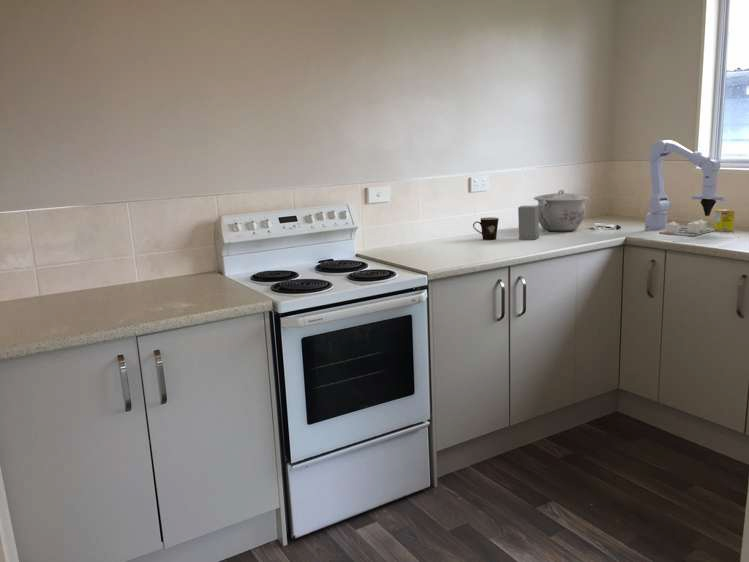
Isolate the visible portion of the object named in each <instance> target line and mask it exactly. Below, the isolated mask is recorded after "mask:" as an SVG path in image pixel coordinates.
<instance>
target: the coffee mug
mask: <svg viewBox="0 0 749 562" xmlns="http://www.w3.org/2000/svg"><path fill="white" fill-rule="evenodd" d="M499 219H500V218H499V217H493V216H491V217H489V216H488V217H487V216H486V217H481V218H480V221H474V222H473V223H472V224H473V225H472V227H473V229H474V230H475V231H476V232H478V233H480V234H481V236H482V240H483V241H495V240H497V234H498V226H499ZM477 223H478V224H479V225H480V228H481V231H480V230H478V229H477V228H476V226H475V225H476V224H477Z"/></svg>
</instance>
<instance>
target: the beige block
mask: <svg viewBox="0 0 749 562" xmlns="http://www.w3.org/2000/svg"><path fill="white" fill-rule="evenodd" d="M697 221H698V220H697ZM697 221H696V220H694V221H691V222H688V223H687V229H686V230H687V232H695V233H700V223H696V222H697Z"/></svg>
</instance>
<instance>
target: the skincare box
mask: <svg viewBox="0 0 749 562" xmlns="http://www.w3.org/2000/svg"><path fill="white" fill-rule="evenodd" d="M517 209H518V212H517V215H518V240H537V239H539V238H540V223H539V216H538V204H537V205H520V206H519V207H518V208H517Z"/></svg>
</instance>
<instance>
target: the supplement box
mask: <svg viewBox="0 0 749 562" xmlns="http://www.w3.org/2000/svg"><path fill="white" fill-rule="evenodd" d="M734 219H735V210H731V209H715V217H714V230H717V231H718V232H730V231H731V232H732V231H733V230H734Z"/></svg>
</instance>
